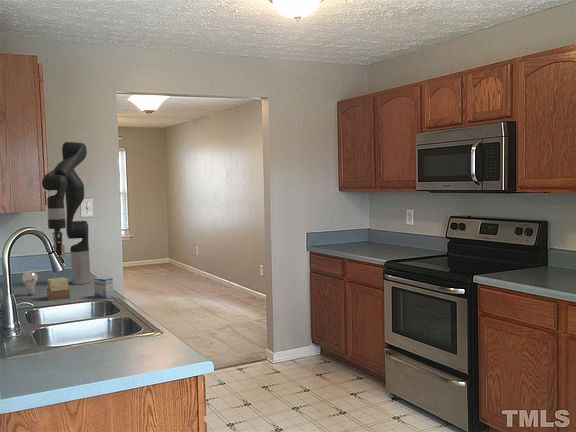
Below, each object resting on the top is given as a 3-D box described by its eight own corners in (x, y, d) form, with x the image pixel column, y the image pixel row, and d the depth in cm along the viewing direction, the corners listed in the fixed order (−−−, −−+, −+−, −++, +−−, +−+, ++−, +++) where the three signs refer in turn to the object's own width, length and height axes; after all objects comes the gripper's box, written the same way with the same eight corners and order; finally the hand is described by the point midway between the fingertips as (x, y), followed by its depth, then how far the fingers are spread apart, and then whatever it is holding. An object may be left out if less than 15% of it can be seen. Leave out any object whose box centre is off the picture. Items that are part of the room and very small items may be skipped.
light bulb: (35, 293, 270) (34, 268, 270) (41, 294, 265) (39, 270, 265) (20, 295, 265) (19, 270, 265) (26, 297, 261) (24, 271, 260)
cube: (52, 256, 258) (51, 245, 257) (64, 255, 260) (63, 244, 260) (53, 257, 253) (52, 246, 253) (65, 256, 255) (64, 245, 255)
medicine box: (94, 297, 256) (93, 278, 256) (101, 295, 260) (100, 276, 260) (106, 298, 253) (105, 279, 252) (113, 296, 256) (112, 277, 256)
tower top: (48, 288, 258) (47, 279, 258) (65, 286, 262) (64, 277, 262) (51, 291, 252) (50, 281, 251) (68, 289, 256) (67, 279, 255)
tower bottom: (47, 298, 259) (46, 288, 259) (68, 295, 263) (67, 286, 263) (48, 301, 251) (48, 291, 251) (69, 299, 255) (69, 289, 255)
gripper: (46, 218, 260) (48, 254, 261) (48, 219, 248) (50, 256, 248) (63, 217, 264) (65, 253, 264) (66, 218, 251) (68, 255, 252)
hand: (58, 254), depth 256 cm, fingers closed on cube, 5 cm apart
